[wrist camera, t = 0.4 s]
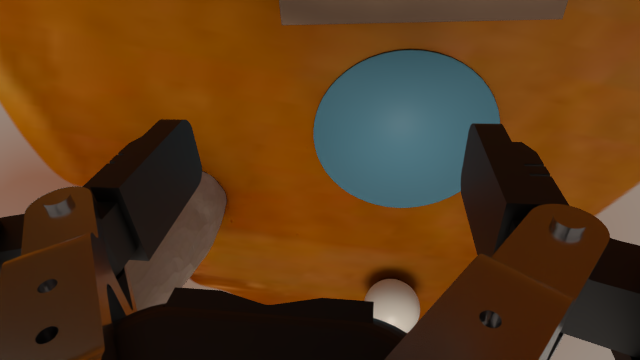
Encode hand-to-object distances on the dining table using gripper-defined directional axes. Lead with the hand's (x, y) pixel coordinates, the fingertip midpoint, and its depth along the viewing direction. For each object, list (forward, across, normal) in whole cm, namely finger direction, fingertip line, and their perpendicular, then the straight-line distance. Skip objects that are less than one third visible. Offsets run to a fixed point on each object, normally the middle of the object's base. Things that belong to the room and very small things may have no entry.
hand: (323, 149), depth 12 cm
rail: (+17, -4, -1) cm, 18 cm away
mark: (+18, -4, +9) cm, 21 cm away
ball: (+16, -4, +27) cm, 32 cm away
